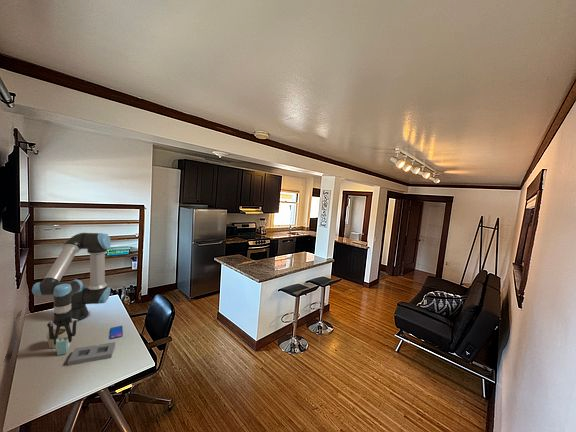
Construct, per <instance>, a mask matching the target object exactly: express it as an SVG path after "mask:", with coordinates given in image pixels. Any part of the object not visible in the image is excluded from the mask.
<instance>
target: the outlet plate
mask: <svg viewBox="0 0 576 432" xmlns="http://www.w3.org/2000/svg"><path fill="white" fill-rule="evenodd" d="M115 347H116V341H113V342H108V343H101V344H96V345H95V344H94V345H88V346H82V347H76V348H74V350H73V351H72V353H71V355H70V357H69V358H68V360H67V366H73V365H79V364H83V363H84V364H85V363H90V362H91V363H92V362H95V361H100V360H107V359H111V358H112V357H113V353H114V350H115Z"/></svg>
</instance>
